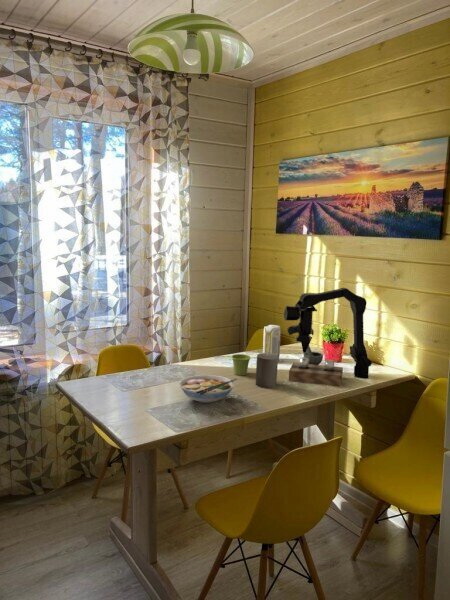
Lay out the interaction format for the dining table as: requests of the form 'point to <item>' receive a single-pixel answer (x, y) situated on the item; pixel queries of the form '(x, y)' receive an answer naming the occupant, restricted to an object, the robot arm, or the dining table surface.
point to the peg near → (329, 365)
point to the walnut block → (316, 374)
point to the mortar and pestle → (313, 357)
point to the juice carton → (271, 340)
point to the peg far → (303, 363)
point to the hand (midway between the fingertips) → (304, 352)
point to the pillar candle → (266, 370)
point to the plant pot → (240, 363)
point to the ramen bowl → (206, 387)
